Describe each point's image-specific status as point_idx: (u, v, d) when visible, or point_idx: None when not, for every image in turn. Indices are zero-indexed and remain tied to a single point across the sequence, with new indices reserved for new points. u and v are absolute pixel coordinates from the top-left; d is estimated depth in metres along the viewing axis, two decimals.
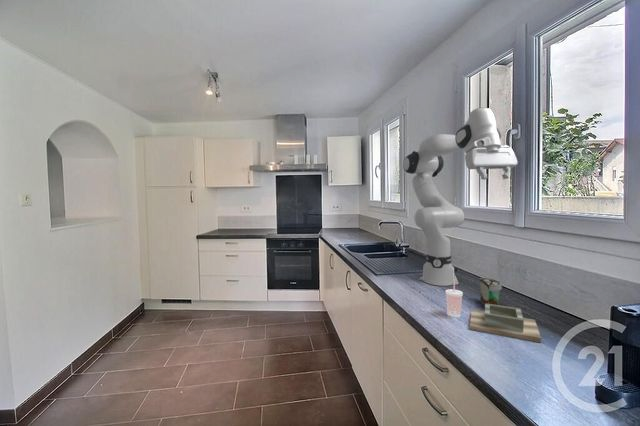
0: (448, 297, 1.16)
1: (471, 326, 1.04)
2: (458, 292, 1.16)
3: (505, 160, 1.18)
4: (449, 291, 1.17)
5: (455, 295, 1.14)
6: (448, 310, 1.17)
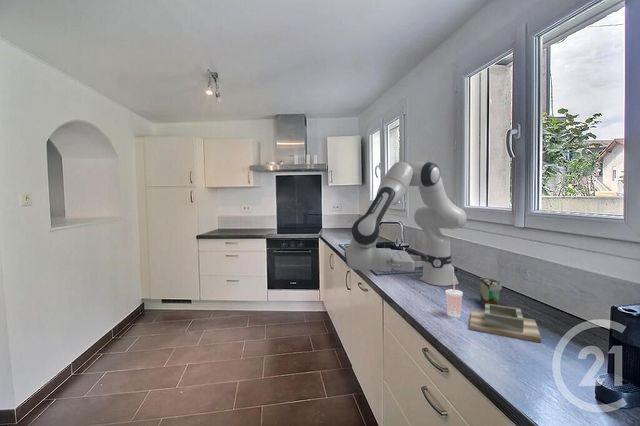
0: (448, 297, 1.16)
1: (471, 326, 1.04)
2: (458, 292, 1.16)
3: None
4: (449, 291, 1.17)
5: (455, 295, 1.14)
6: (448, 310, 1.17)
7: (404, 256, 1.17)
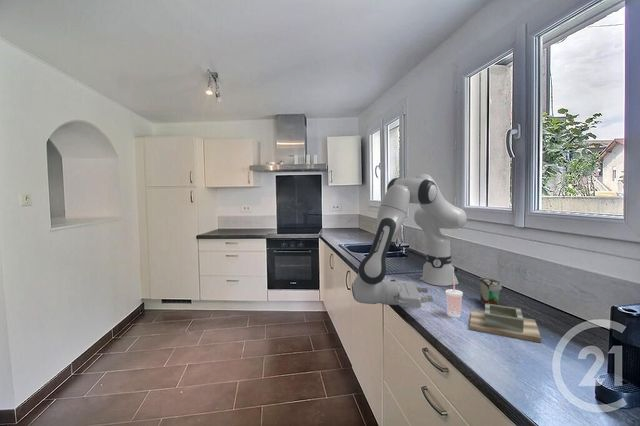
0: (448, 297, 1.16)
1: (471, 326, 1.04)
2: (458, 292, 1.16)
3: None
4: (449, 291, 1.17)
5: (455, 295, 1.14)
6: (448, 310, 1.17)
7: (411, 290, 1.18)
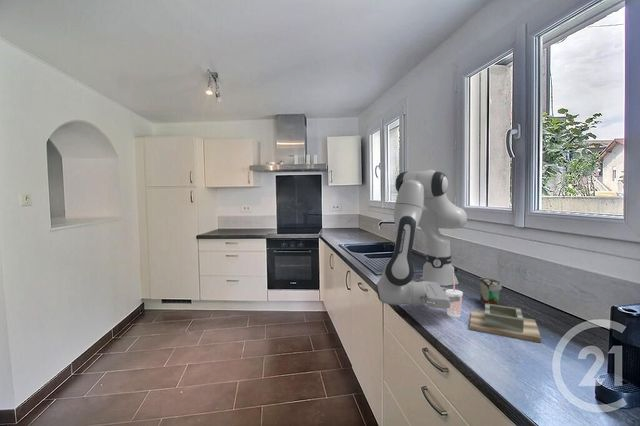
0: None
1: (471, 326, 1.04)
2: (458, 292, 1.16)
3: None
4: (449, 291, 1.17)
5: None
6: (448, 310, 1.17)
7: (437, 291, 1.16)
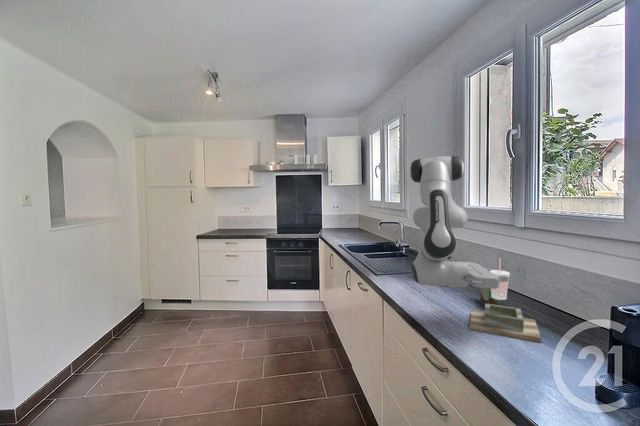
0: None
1: (471, 326, 1.04)
2: (504, 272, 1.05)
3: None
4: (494, 272, 1.06)
5: None
6: (493, 292, 1.06)
7: (481, 270, 1.05)
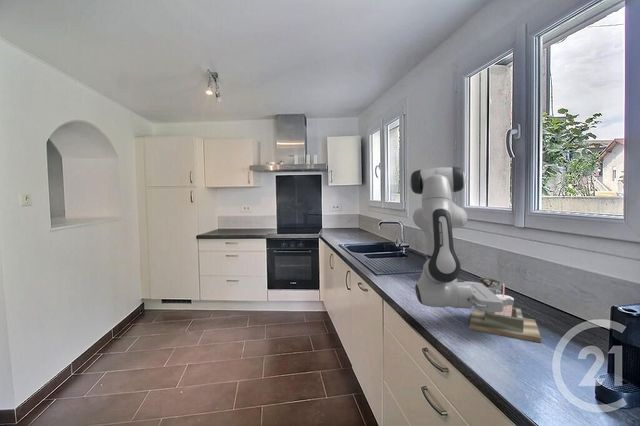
0: None
1: (471, 326, 1.04)
2: None
3: None
4: None
5: None
6: None
7: (485, 292, 1.05)
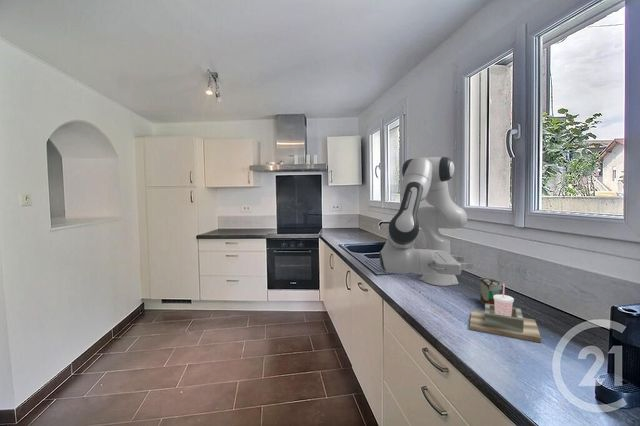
0: (497, 303, 1.05)
1: (471, 326, 1.04)
2: (508, 298, 1.05)
3: None
4: (497, 297, 1.06)
5: (506, 301, 1.03)
6: None
7: (446, 257, 1.06)
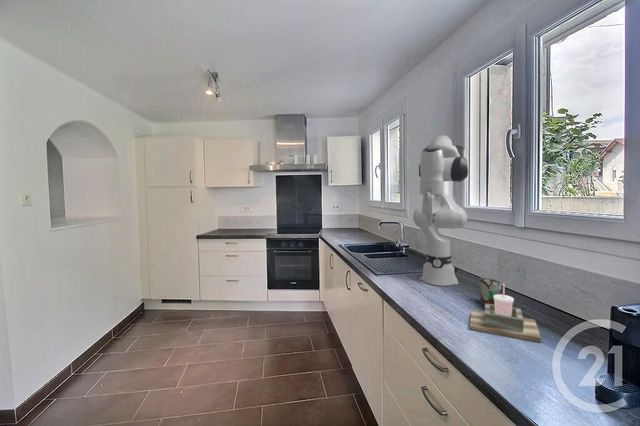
0: (497, 303, 1.05)
1: (471, 326, 1.04)
2: (508, 298, 1.05)
3: None
4: (498, 297, 1.06)
5: (506, 301, 1.03)
6: None
7: (435, 206, 1.19)
